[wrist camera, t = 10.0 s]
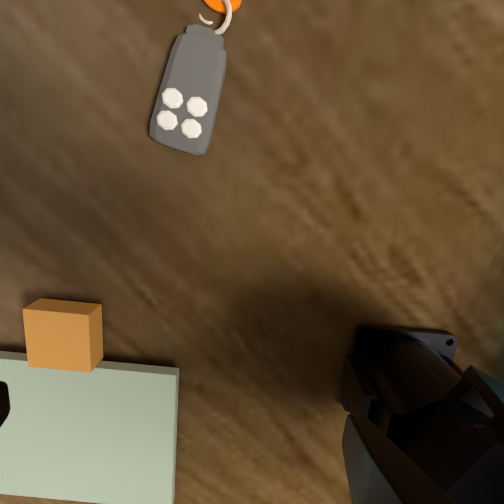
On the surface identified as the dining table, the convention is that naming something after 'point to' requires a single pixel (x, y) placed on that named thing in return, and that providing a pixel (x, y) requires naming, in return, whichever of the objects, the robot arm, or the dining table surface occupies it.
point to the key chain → (192, 85)
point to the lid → (85, 415)
